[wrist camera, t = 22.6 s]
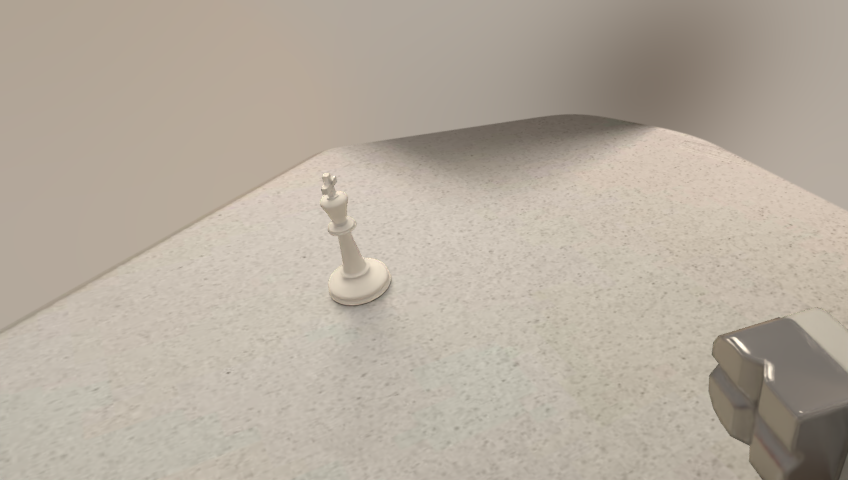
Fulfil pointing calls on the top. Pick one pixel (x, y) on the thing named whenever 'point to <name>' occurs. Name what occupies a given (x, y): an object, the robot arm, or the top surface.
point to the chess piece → (350, 254)
